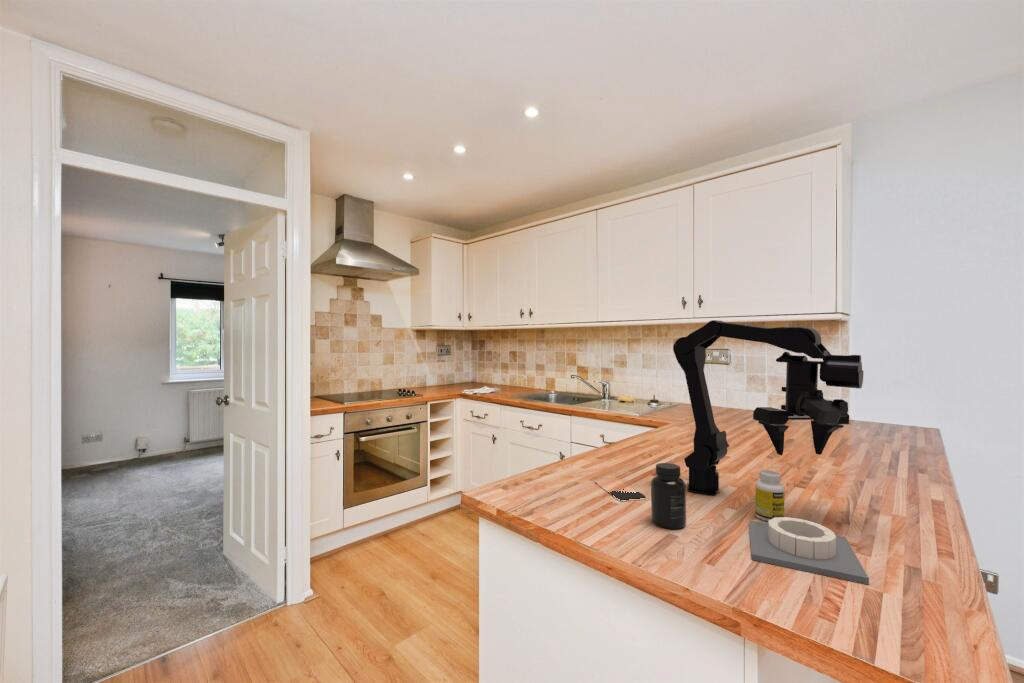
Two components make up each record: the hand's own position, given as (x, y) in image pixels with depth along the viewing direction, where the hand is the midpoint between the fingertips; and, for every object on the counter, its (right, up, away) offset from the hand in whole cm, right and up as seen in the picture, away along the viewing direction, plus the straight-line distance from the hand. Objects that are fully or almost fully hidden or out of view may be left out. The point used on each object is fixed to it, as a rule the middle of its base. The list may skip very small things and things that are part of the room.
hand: (799, 454), depth 94 cm
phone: (-36, -14, +15) cm, 41 cm away
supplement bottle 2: (-8, -13, -2) cm, 16 cm away
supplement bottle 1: (-31, -13, -5) cm, 34 cm away
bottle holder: (-11, -13, -16) cm, 23 cm away
